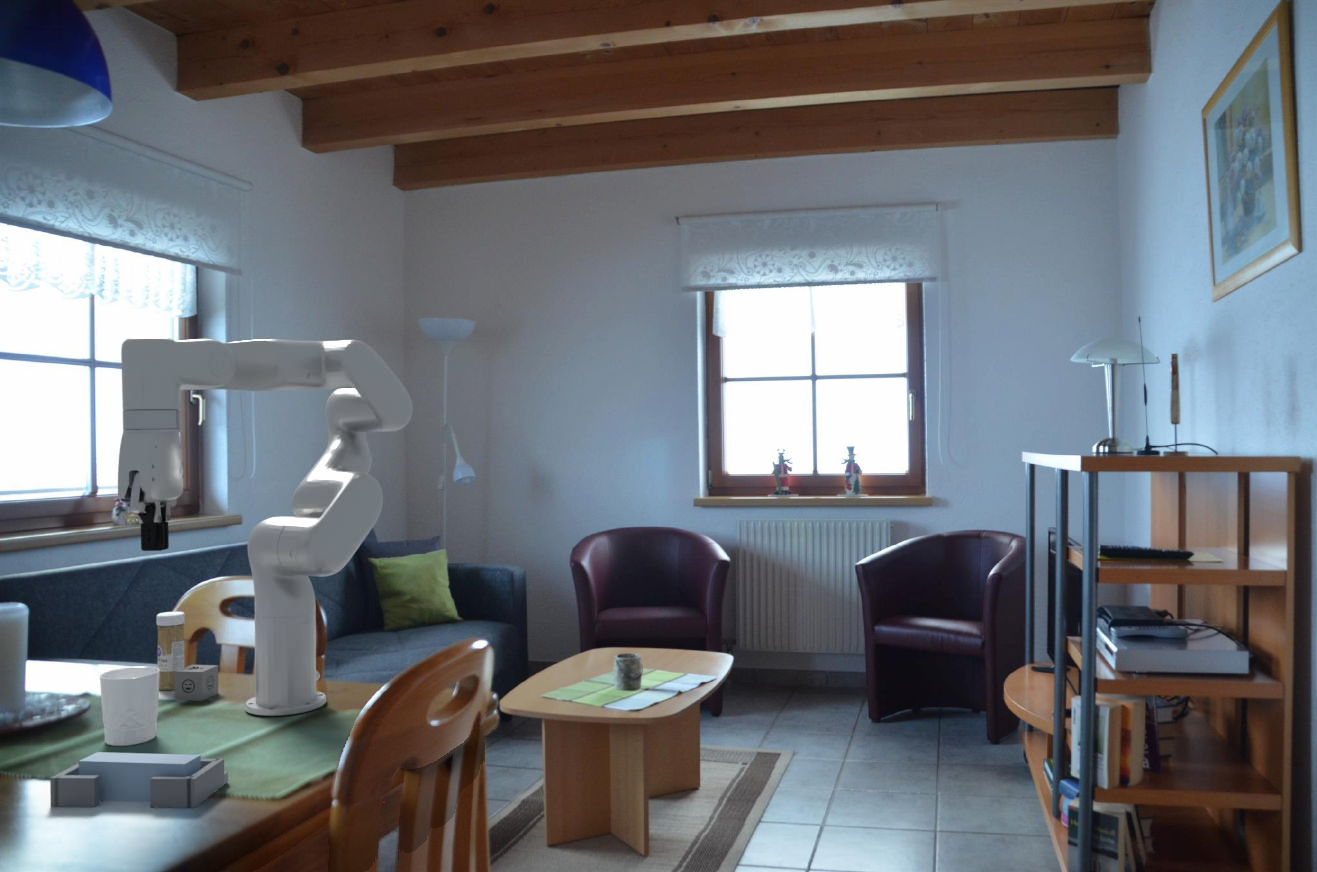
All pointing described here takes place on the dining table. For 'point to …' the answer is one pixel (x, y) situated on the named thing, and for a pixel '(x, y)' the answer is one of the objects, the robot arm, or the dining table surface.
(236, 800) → the dining table surface
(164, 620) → the sprinkles bottle
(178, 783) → the grey rectangular holder
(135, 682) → the white cup
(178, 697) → the grey smiley face cube
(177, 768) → the blue rectangular block
